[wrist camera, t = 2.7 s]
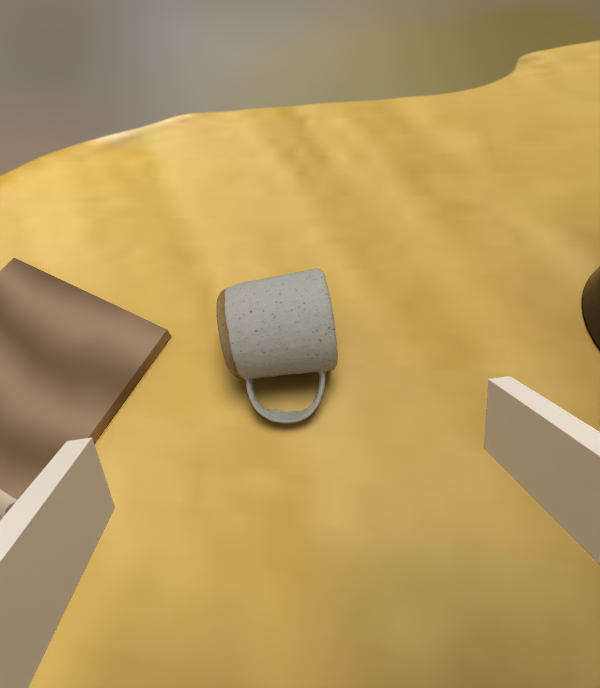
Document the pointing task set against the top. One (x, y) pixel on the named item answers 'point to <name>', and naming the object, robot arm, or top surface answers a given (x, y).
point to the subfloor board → (61, 369)
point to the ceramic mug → (278, 332)
